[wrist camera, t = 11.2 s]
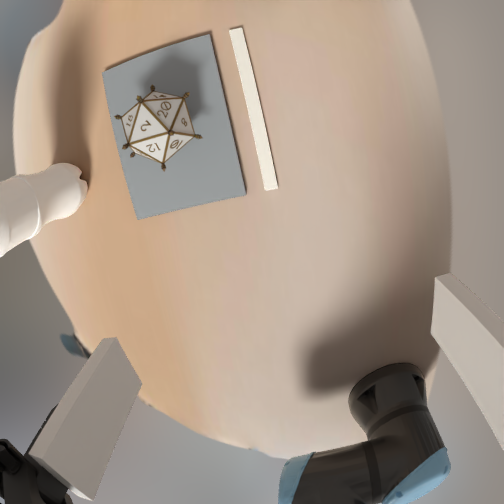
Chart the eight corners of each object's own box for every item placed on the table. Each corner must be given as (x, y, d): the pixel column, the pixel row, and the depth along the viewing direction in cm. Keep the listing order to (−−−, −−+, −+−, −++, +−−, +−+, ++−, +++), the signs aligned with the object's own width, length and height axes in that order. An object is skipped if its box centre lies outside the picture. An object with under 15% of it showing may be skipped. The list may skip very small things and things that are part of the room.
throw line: (277, 187, 35) (278, 188, 34) (265, 190, 35) (265, 190, 34) (242, 28, 27) (241, 27, 27) (229, 31, 27) (228, 30, 27)
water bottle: (48, 196, 35) (-85, 269, 12) (63, 151, 33) (-90, 200, 10) (83, 219, 37) (-49, 315, 14) (100, 174, 34) (-56, 244, 11)
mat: (246, 193, 35) (246, 195, 34) (139, 218, 36) (137, 220, 36) (210, 36, 28) (209, 34, 27) (104, 73, 29) (101, 72, 28)
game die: (168, 114, 34) (136, 60, 24) (224, 131, 32) (200, 68, 22) (127, 171, 33) (81, 125, 23) (181, 195, 31) (139, 144, 21)
